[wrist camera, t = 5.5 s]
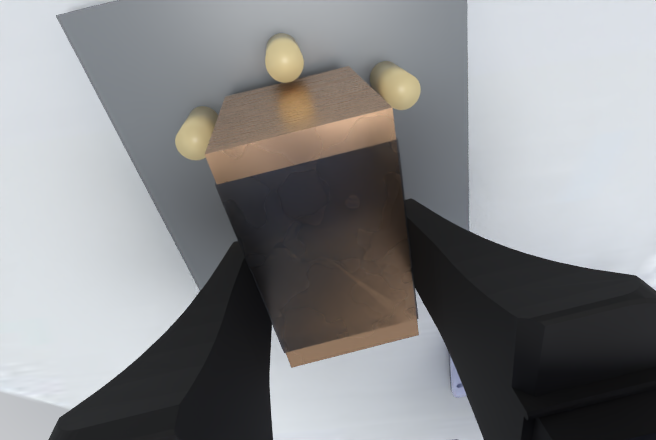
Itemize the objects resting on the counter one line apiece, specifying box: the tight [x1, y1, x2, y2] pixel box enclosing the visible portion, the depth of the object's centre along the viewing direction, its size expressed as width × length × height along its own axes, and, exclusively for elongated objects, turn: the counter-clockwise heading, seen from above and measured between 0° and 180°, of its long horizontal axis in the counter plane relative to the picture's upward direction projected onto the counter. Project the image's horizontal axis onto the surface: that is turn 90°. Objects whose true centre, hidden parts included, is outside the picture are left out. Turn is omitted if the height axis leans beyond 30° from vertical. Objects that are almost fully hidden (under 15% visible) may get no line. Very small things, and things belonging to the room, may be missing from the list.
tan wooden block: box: [205, 66, 419, 367], centre depth 13 cm, size 8×5×6 cm, turn 12°
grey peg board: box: [56, 0, 469, 291], centre depth 16 cm, size 16×14×4 cm
